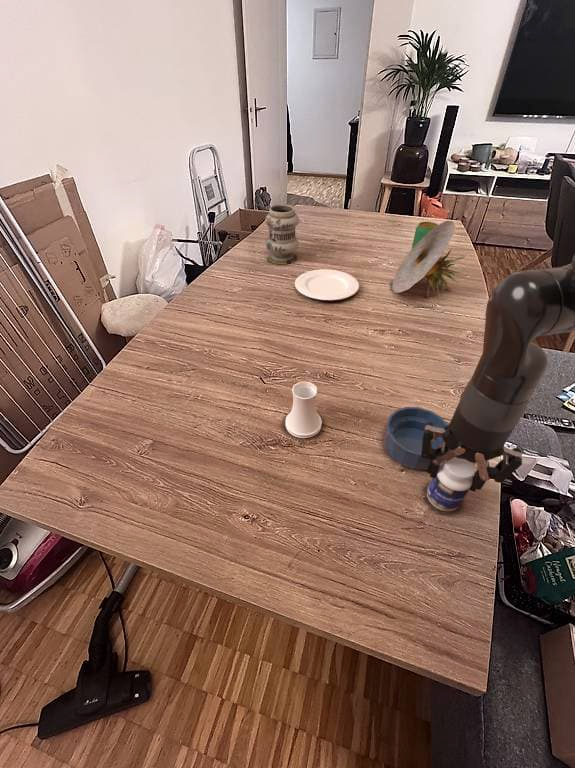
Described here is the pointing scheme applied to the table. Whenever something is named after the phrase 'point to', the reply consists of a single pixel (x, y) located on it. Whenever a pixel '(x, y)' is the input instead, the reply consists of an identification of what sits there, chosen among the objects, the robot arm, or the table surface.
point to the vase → (303, 411)
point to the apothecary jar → (282, 233)
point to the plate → (326, 285)
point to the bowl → (410, 436)
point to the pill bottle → (451, 484)
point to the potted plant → (427, 260)
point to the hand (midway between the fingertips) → (452, 479)
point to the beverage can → (422, 231)
